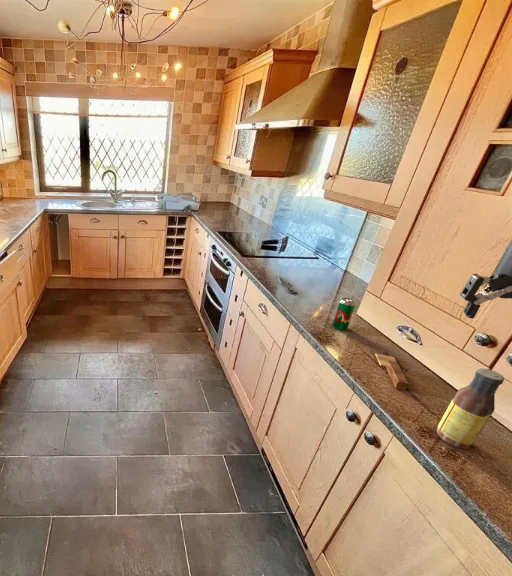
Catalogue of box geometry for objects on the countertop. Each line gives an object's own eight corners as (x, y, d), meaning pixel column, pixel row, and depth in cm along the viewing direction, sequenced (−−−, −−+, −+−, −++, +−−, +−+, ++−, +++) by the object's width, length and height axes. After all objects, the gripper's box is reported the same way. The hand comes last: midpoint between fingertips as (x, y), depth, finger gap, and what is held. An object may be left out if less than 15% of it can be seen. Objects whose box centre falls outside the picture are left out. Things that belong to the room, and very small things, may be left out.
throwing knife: (288, 293, 143) (288, 292, 143) (273, 275, 161) (273, 274, 161) (297, 293, 143) (298, 292, 143) (281, 276, 161) (282, 275, 161)
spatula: (411, 391, 88) (414, 385, 87) (389, 386, 90) (392, 380, 89) (393, 358, 101) (396, 352, 100) (375, 354, 103) (377, 348, 102)
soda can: (342, 324, 120) (352, 297, 114) (350, 331, 115) (360, 303, 110) (329, 323, 120) (338, 296, 115) (335, 331, 116) (345, 303, 110)
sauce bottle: (476, 453, 71) (524, 389, 62) (442, 445, 73) (484, 382, 64) (459, 430, 77) (501, 368, 68) (428, 423, 78) (465, 362, 70)
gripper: (495, 256, 63) (460, 322, 71) (598, 265, 58) (548, 335, 65) (477, 245, 69) (446, 307, 77) (568, 252, 64) (526, 318, 71)
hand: (493, 320), depth 71 cm, fingers open, 8 cm apart
